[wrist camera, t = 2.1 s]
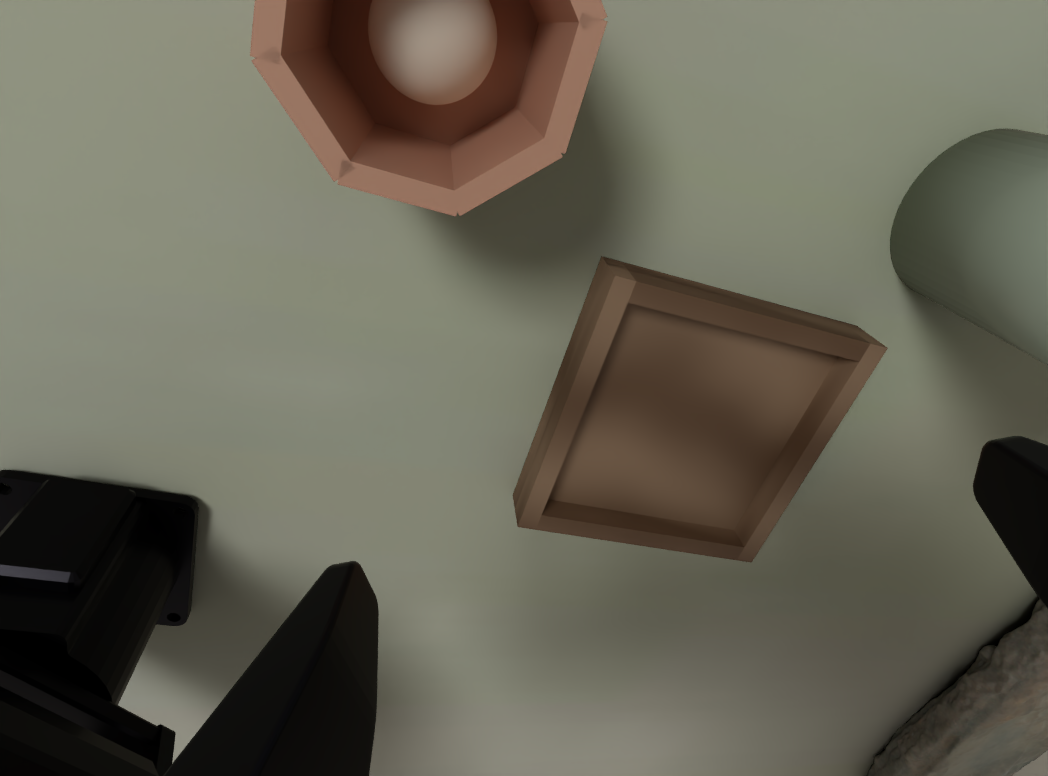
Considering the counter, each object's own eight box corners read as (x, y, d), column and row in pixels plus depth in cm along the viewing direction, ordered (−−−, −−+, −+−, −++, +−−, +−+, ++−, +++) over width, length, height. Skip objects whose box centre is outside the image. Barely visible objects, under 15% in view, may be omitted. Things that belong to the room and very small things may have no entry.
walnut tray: (733, 531, 27) (751, 562, 25) (512, 495, 25) (517, 526, 23) (857, 326, 23) (887, 347, 21) (601, 256, 20) (615, 275, 19)
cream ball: (475, 113, 17) (481, 128, 14) (364, 77, 16) (350, 88, 14) (506, -11, 16) (519, -19, 13) (386, -56, 15) (375, -72, 12)
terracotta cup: (510, 179, 19) (538, 238, 13) (300, 117, 17) (240, 157, 12) (578, -57, 16) (644, -96, 11) (335, -154, 14) (276, -254, 9)
